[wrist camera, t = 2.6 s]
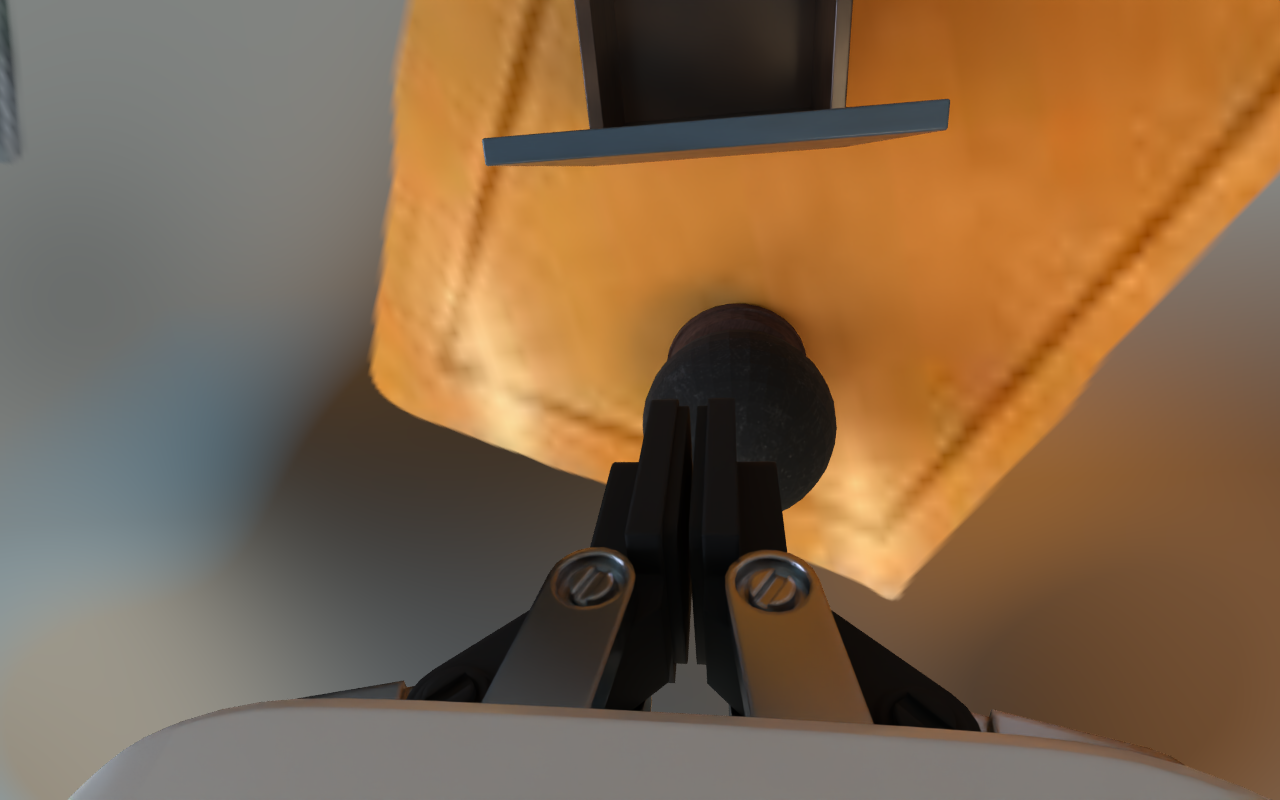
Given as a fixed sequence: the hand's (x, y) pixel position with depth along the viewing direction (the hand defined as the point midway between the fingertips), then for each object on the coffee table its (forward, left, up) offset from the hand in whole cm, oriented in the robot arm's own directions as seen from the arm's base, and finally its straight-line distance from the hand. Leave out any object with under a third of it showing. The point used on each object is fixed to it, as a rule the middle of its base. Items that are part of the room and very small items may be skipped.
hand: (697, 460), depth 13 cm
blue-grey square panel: (-4, 0, -18) cm, 18 cm away
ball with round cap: (+16, +1, -35) cm, 39 cm away
